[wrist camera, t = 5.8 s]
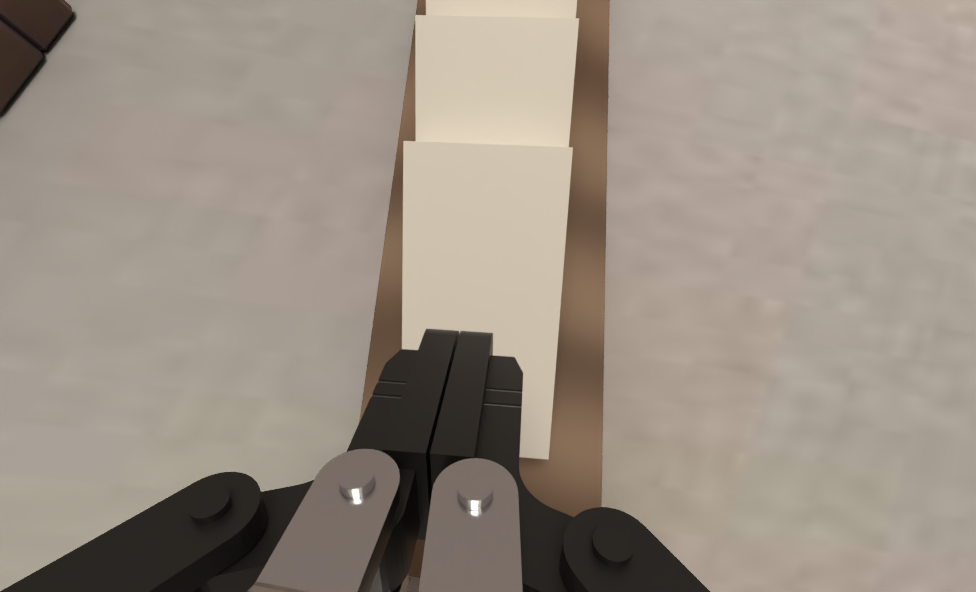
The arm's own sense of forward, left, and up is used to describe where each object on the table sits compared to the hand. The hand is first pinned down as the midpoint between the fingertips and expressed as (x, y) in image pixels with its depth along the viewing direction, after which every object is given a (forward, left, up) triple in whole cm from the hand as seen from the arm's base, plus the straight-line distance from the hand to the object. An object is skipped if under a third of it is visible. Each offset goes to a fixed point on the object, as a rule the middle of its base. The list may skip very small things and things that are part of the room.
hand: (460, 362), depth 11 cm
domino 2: (+1, +2, -7) cm, 7 cm away
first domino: (-1, -2, -7) cm, 7 cm away
